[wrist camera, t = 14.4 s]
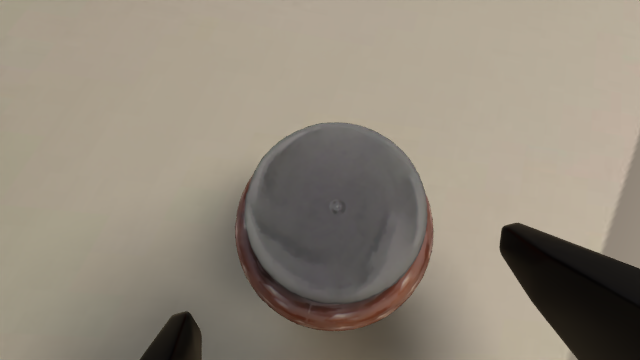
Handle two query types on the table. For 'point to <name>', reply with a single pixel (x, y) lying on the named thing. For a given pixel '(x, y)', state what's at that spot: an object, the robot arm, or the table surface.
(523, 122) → the table surface
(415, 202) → the supplement bottle
